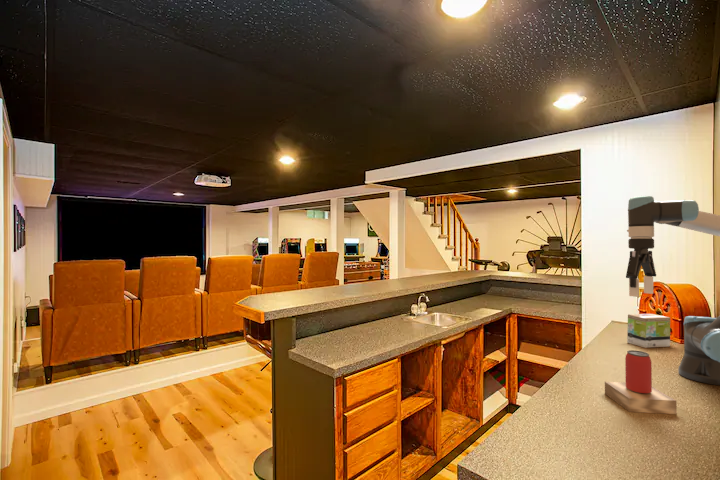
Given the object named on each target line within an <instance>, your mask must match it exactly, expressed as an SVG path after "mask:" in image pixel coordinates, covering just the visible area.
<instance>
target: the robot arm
mask: <svg viewBox="0 0 720 480" xmlns="http://www.w3.org/2000/svg"><path fill="white" fill-rule="evenodd" d="M654 199H655V198H654V196H653V195H643V196H642V195H641V196H633V197H631V198H629V200H628V204H627V205H628V206H627V220H628V221H627V223H628V226H627V230H626V232H627V233H628V237H629V239H628V242H627V243H628V245H627V246H628V249H633V250H630V251H629V258H628V264H627V269H626V274H625V278H626V279H628V291H629V292H628V293H629V294H628V296H629V297H633V298H639V297H640V279H639V278H638V277H639V274H640V271H641V269H642V270H643V272H644V273H643V274H644V276H643V294H650V295H653V294H654V277H657V272H656V268H655V263H654V258H653V250H651V249H654V248H655V239H654V237H655V224H659V225H668V226H673V227H677V228H682V229H686V230H691V231H695V232H700V233H703V234H708V235H711V236H715V237H716V236H717V237H720V214H716V213H715V214H714V213H711V212H705V211H702V210H699V209H700V208H699V204H698V202H697V201H696V200H693V199H681V200H664V201H663V200H662V201H657V200H654ZM649 249H650V250H649ZM683 336H684V337H683V342H684V343H683V344H684V347H683V348H684V349H683V350H684V354H683V357H682V359H681V361H680V364H679V365H678V374H679V375H680V376H682V377H684V378H686V379H688V380H691V381H695V382H700V383H703V384H708V385H715V386H720V315H719V316H717V317H711V316H710V317H709V316H697V315H696V316H695V315H688V316H684V321H683Z"/></svg>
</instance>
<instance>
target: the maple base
mask: <svg viewBox="0 0 720 480" xmlns="http://www.w3.org/2000/svg"><path fill="white" fill-rule="evenodd" d="M604 394H605V395H607V397H609V398H610V399H611V400H613V401H615V402H616V403H617V404H618V405H620V406H621V407H623V409H625V410H627V411H628V412H630V413H650V414H667V415H668V414H670V415H677V414H678V413H677V408H678V407H677V400H676V399H674V398H673V397H671V396H669V395H667V394H665V392H662V391H661V390H659V389H657V388H656V387H654V386H652V392H651V393H649V394H640V393H635V392H632V391H630V390H628V389H627V388H626V381H625V382H624V381H623V382H622V381H621V382H620V381H619V382H618V381H604Z"/></svg>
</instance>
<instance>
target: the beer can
mask: <svg viewBox="0 0 720 480" xmlns="http://www.w3.org/2000/svg"><path fill="white" fill-rule="evenodd" d="M624 359H625V367H624V368H625V383H626V388H627V389H628V390H630V391H632V392H635V393H640V394H649V393H651V392H652V387H653V386H652V385H653V384H652V383H653V382H652V381H653V380H652V379H653V378H652V372H653V370H652V367H653V366H652V359H651V357H650V353H648V352H645V351H642V350H633V349H630V350H627V352H626V354H625V358H624Z"/></svg>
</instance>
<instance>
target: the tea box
mask: <svg viewBox="0 0 720 480" xmlns="http://www.w3.org/2000/svg"><path fill="white" fill-rule="evenodd" d="M626 334H627V338H626V339H627V341H626V342H627V344H628V343H629V344H631V345H634V346H638V347H641V348H645V349H647V348H659V347H663V348H664V347H670V346H671V316H670V317H669V316H664V315H659V314H655V313H633V314H632V313H630V314H629V313H628V315H627V333H626Z"/></svg>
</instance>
